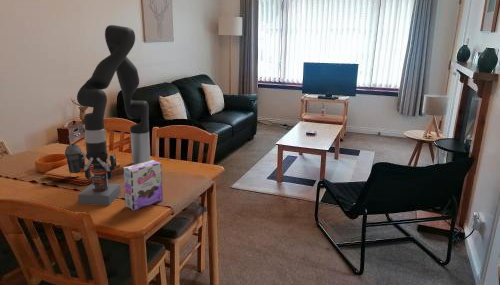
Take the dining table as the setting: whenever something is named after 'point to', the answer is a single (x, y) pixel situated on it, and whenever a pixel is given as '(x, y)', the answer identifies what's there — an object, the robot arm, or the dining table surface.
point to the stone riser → (99, 195)
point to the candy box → (142, 184)
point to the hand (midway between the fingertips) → (99, 178)
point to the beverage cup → (73, 157)
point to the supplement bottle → (99, 178)
